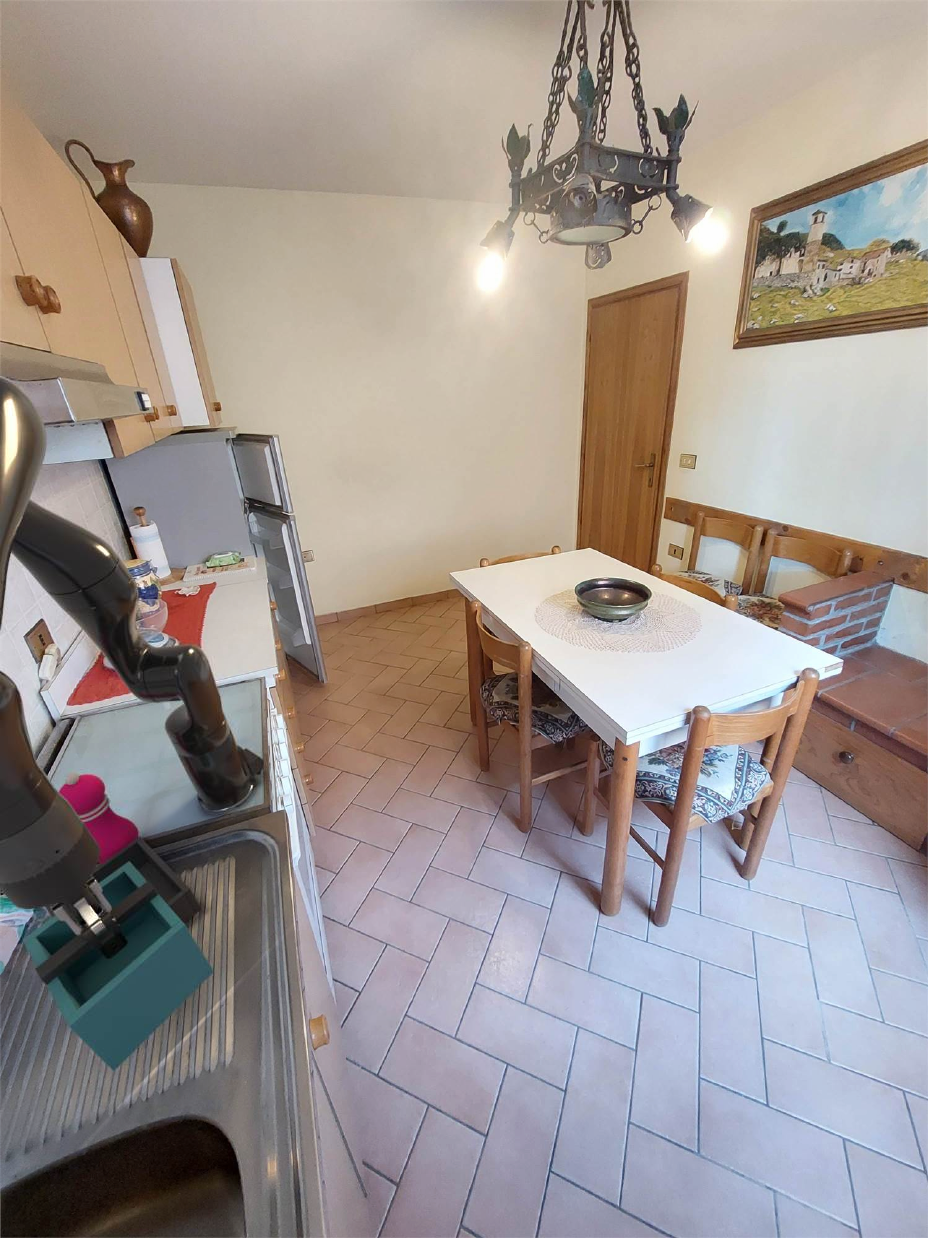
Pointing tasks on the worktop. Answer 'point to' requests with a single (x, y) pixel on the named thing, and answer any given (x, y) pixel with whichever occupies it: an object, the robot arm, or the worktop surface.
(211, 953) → the worktop surface
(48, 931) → the teal tote
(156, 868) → the charcoal bin
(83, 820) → the pepper mill
